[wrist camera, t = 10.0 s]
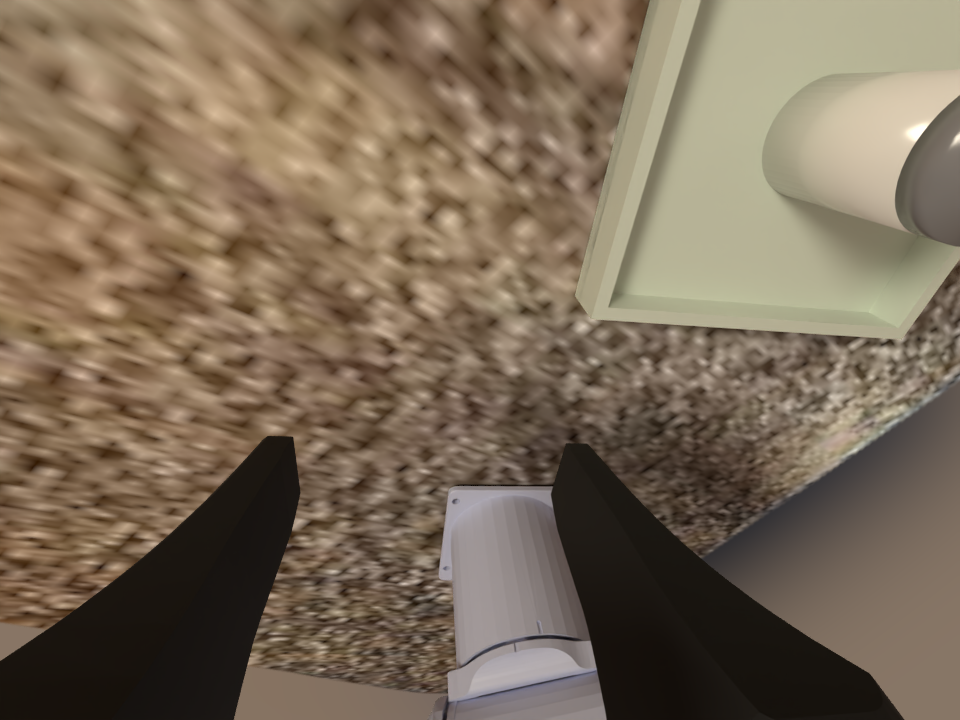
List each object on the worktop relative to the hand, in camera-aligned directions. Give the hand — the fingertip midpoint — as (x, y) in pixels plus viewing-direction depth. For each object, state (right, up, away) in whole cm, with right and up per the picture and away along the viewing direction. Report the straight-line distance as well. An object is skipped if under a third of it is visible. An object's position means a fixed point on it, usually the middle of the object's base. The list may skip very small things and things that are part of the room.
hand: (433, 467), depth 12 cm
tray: (+15, +12, +6) cm, 20 cm away
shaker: (+15, +12, +6) cm, 20 cm away
